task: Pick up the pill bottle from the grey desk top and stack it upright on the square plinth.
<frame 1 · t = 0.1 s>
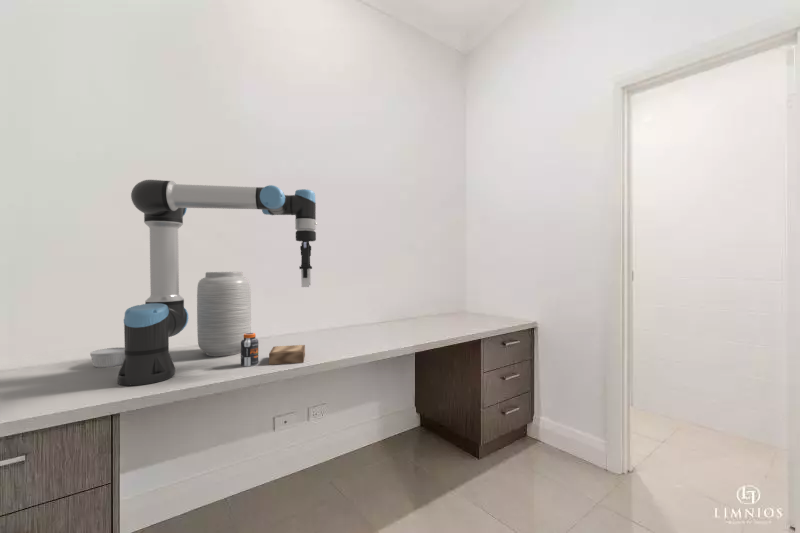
hand: (306, 286, 140), 28 cm above the worktop, fingers open, 13 cm apart
vase: (225, 352, 153), on the worktop
plinth: (288, 359, 140), on the worktop
pill bottle: (249, 365, 133), on the worktop
ramekin: (110, 365, 135), on the worktop
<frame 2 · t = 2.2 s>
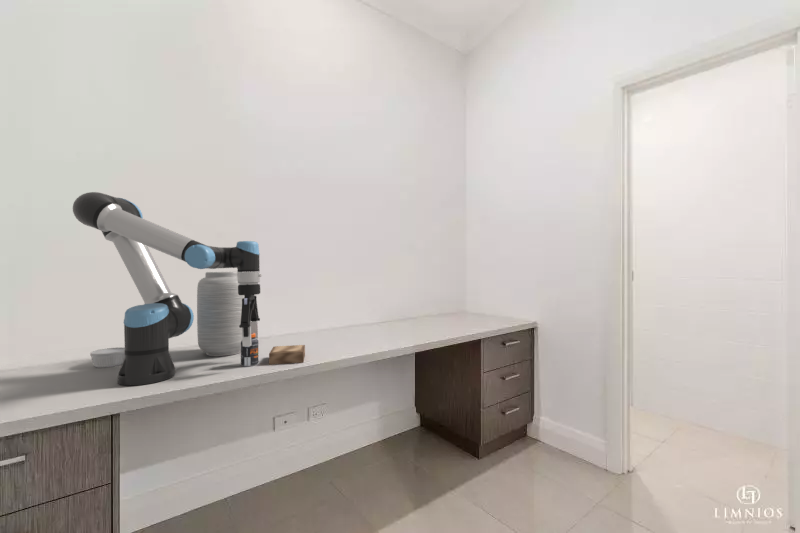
hand: (250, 342, 133), 8 cm above the worktop, fingers open, 13 cm apart
nothing on the worktop moved.
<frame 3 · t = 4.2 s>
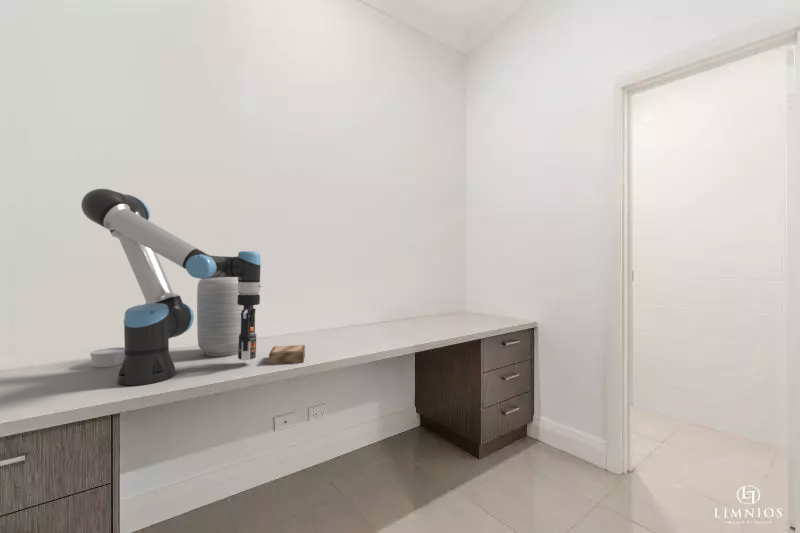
hand: (247, 357, 133), 3 cm above the worktop, fingers closed on pill bottle, 6 cm apart
pill bottle: (247, 358, 133), point 2 cm above the worktop, touching gripper
everything else where it was.
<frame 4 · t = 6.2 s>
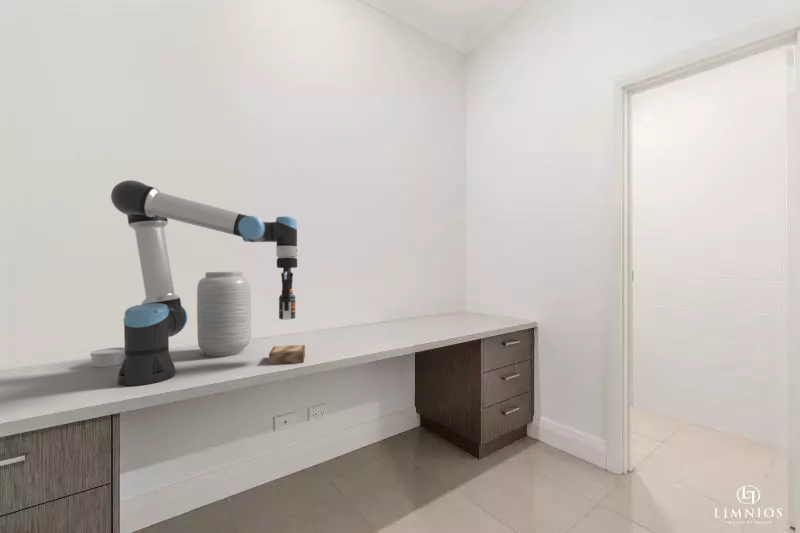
hand: (287, 318, 140), 16 cm above the worktop, fingers closed on pill bottle, 6 cm apart
pill bottle: (287, 319, 140), point 15 cm above the worktop, touching gripper
everything else where it was.
when the fingers open (6 cm above the worktop, at t = 8.2 s): pill bottle drops 1 cm, resting on plinth.
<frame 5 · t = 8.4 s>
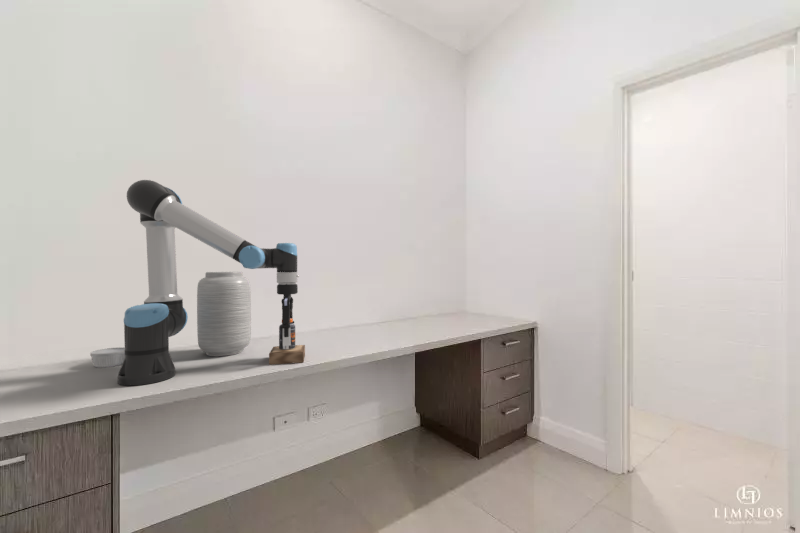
hand: (287, 342, 140), 6 cm above the worktop, fingers open, 8 cm apart
pill bottle: (287, 348, 140), point 4 cm above the worktop, touching plinth
everything else where it was.
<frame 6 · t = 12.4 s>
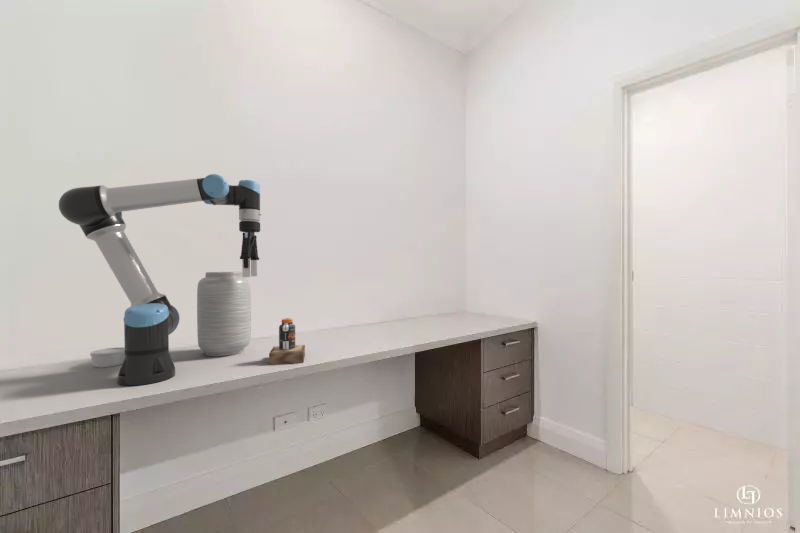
hand: (250, 276, 141), 32 cm above the worktop, fingers open, 13 cm apart
nothing on the worktop moved.
at the end: pill bottle inside the target area on the plinth (0.2 cm from its centre), point 4.1 cm above the plinth's base; pill bottle tilted 0°; the gripper is holding nothing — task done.
